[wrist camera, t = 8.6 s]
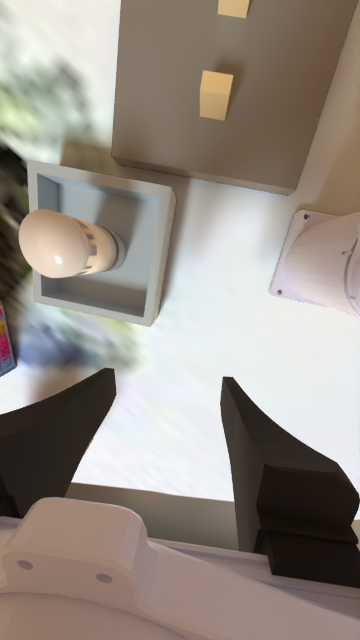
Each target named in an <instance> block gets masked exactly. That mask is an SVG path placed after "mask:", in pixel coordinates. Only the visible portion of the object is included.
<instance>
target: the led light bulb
mask: <svg viewBox="0 0 360 640" xmlns="http://www.w3.org/2000/svg"><path fill="white" fill-rule="evenodd" d="M19 243H20V247H21V250H22V253H23V255H24V257H25V259H26V260H27V262H28V263H29V264H30V265H31V266H32V267H33V268H34V269H35V270H36V271H37V272H39V273H40V274H42V275H44V276H47V277H51V278H62V277H70V276H77V275H84V274H91V273H100V272H106V271H113V270H116V269H118V268H120V267H121V266H122V265H123V264H124V262H125V260H126V256H127V248H126V244H125V242H124V240H123V238H122V237H121V236H120V235H119V234H118V233H117V232H115V231H113V230H110V229H107V228H104V227H102V226H99V225H95V224H92V223H89V222H86V221H83V220H80V219H77V218H74V217H70V216H67V215H64V214H61V213H58V212H55V211H52V210H48V209H39V210H35V211H33V212H31V213H29V214H28V215H27V216H26V217H25V218H24V220H23V221H22V224H21V226H20V230H19Z"/></svg>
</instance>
